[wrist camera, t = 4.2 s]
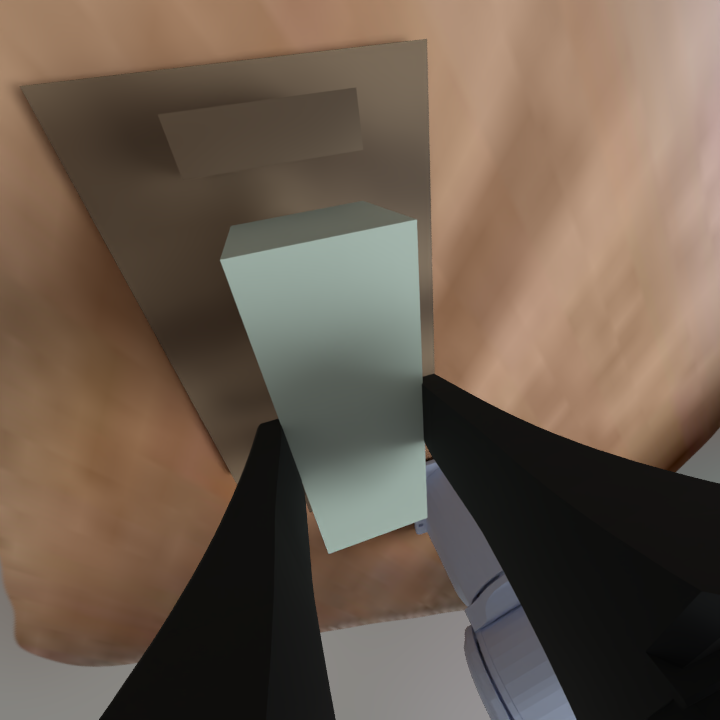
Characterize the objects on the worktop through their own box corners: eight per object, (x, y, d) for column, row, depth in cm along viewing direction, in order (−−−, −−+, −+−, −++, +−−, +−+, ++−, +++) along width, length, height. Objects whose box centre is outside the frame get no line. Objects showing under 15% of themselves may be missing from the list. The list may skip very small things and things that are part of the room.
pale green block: (391, 445, 16) (427, 517, 13) (312, 470, 15) (328, 554, 12) (362, 200, 10) (416, 219, 7) (231, 225, 9) (220, 259, 6)
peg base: (429, 412, 24) (475, 475, 19) (237, 472, 22) (232, 561, 17) (416, 46, 13) (513, -26, 8) (37, 92, 11) (-138, 31, 6)
